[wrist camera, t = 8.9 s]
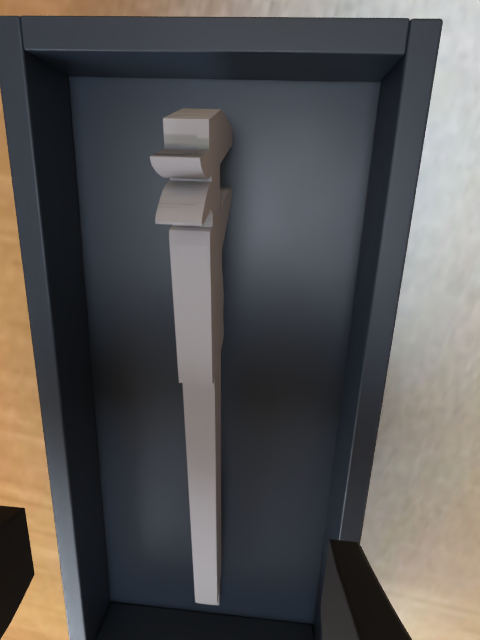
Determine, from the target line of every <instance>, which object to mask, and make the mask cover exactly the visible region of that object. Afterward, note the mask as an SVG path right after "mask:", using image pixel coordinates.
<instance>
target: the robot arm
mask: <svg viewBox="0 0 480 640" xmlns="http://www.w3.org/2000/svg"><path fill="white" fill-rule="evenodd" d="M33 576H34V568H33V561H32V554H31V547H30V541H29V534H28V527H27V520H26V514H25V508H18V507H8V506H0V639H1V637H2V636H3V634H4V633H5V631H6V629H7V628H8V626H9V624H10V623H11V621H12V619H13V617H14V615H15V613H16V611H17V609H18V607H19V605H20V603H21V601H22V599H23V597H24V595H25V593H26V591H27V589H28V587H29V585H30V582H31V580H32V578H33ZM321 622H322V639H323V640H412V639H411V637H410V636H409V634H408V632H407V631H406V629H405V627H404V626H403V624H402V622H401V621H400V619H399V617H398V615H397V614H396V612H395V610H394V608H393V607H392V605H391V603H390V601H389V599H388V598H387V596H386V594H385V592H384V590H383V589H382V587H381V585H380V583H379V581H378V579H377V577H376V575H375V574H374V572H373V570H372V568H371V566H370V564H369V562H368V560H367V558H366V556H365V554H364V552H363V550H362V547H361V546H360V545H359V544H358V543H357V542H353V541H343V540H334V539H329V546H328V553H327V561H326V569H325V576H324V584H323V592H322V600H321Z"/></svg>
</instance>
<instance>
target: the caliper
mask: <svg viewBox="0 0 480 640" xmlns="http://www.w3.org/2000/svg"><path fill="white" fill-rule="evenodd" d="M163 131H164V149H162V150H160V151H159V152H157V153H155V154H153V155H151V156H150V160H151V165H152V166H153V168H154V170H155V171H156V172H157V173H158V174H159V175H160V176H162V177H164V178H170V181H169V182H168V183H167V184H166V185H165V187H164V189H163V190H162V194H161V197H160V200H159V204H158V208H157V212H156V217H155V223H156V224H170V225H173V226H171V227H170V229H169V245H170V259H171V274H172V289H173V304H174V318H175V333H176V348H177V362H178V377H179V383H183V400H184V418H185V435H186V452H187V470H188V487H189V505H190V522H191V539H192V556H193V573H194V590H195V602H196V603H199V604H209V605H218V606H219V604H220V580H221V348H222V343H223V338H224V322H223V305H224V291H223V272H222V247H223V242H224V237H225V232H226V227H227V222H228V216H229V211H230V206H231V199H232V187H222V186H220V164H221V162H222V160H223V159H224V157H225V156H226V154H227V152H228V151H229V149H230V148H231V147H232V145H233V134H232V126H231V124H230V122H229V121H228V119H227V118H226V116H225V115H224V113H223V111H222V110H221V109H190V108H182V109H180V110H178V111H176V112H174V113H172V114H170V115H168V116H166V117H164V118H163Z"/></svg>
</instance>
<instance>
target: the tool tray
mask: <svg viewBox="0 0 480 640" xmlns="http://www.w3.org/2000/svg"><path fill="white" fill-rule="evenodd" d="M442 24H443V21H442V19H411V20H409V19H408V18H297V17H142V16H21V17H20V16H0V88H1V96H2V104H3V112H4V120H5V128H6V136H7V144H8V152H9V160H10V168H11V176H12V184H13V192H14V200H15V208H16V216H17V224H18V232H19V240H20V248H21V256H22V264H23V272H24V280H25V288H26V296H27V304H28V312H29V320H30V328H31V336H32V344H33V352H34V360H35V368H36V376H37V384H38V392H39V400H40V408H41V416H42V424H43V432H44V440H45V448H46V456H47V464H48V472H49V480H50V488H51V496H52V504H53V512H54V520H55V528H56V536H57V544H58V552H59V560H60V568H61V576H62V584H63V592H64V600H65V608H66V616H67V624H68V632H69V640H323V639H322V622H321V600H322V592H323V584H324V576H325V569H326V561H327V553H328V546H329V539H334V540H343V541H353V542H357V543H358V544H359V545H360V540H361V534H362V527H363V521H364V515H365V509H366V502H367V496H368V490H369V483H370V477H371V471H372V465H373V458H374V452H375V446H376V439H377V433H378V427H379V420H380V414H381V408H382V402H383V395H384V389H385V383H386V376H387V370H388V364H389V357H390V351H391V345H392V339H393V332H394V326H395V320H396V313H397V307H398V301H399V294H400V288H401V282H402V276H403V269H404V263H405V257H406V250H407V244H408V238H409V232H410V225H411V219H412V213H413V206H414V200H415V194H416V187H417V181H418V175H419V169H420V162H421V156H422V150H423V143H424V137H425V131H426V124H427V118H428V112H429V106H430V99H431V93H432V87H433V80H434V74H435V68H436V61H437V55H438V49H439V43H440V36H441V30H442ZM182 108H190V109H221V110H222V111H223V113H224V115H225V116H226V118H227V119H228V121H229V122H230V124H231V126H232V134H233V145H232V147H231V148H230V149H229V151H228V152H227V154H226V156H225V157H224V159H223V160H222V162H221V164H220V186H222V187H232V199H231V206H230V211H229V216H228V222H227V227H226V232H225V237H224V242H223V247H222V272H223V291H224V305H223V322H224V338H223V343H222V348H221V580H220V604H219V606H218V605H209V604H199V603H196V602H195V590H194V573H193V556H192V539H191V522H190V505H189V487H188V470H187V452H186V435H185V418H184V400H183V383H179V377H178V362H177V348H176V333H175V318H174V304H173V289H172V274H171V259H170V245H169V229H170V227H171V226H173V225H170V224H156V223H155V217H156V212H157V208H158V204H159V200H160V197H161V194H162V190H163V189H164V187H165V185H166V184H167V183H168V182H169V181H170V178H164V177H162V176H160V175H159V174H158V173H157V172H156V171H155V170H154V168H153V166H152V165H151V160H150V156H151V155H153V154H155V153H157V152H159V151H160V150H162V149H164V131H163V118H164V117H166V116H168V115H170V114H172V113H174V112H176V111H178V110H180V109H182Z"/></svg>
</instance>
